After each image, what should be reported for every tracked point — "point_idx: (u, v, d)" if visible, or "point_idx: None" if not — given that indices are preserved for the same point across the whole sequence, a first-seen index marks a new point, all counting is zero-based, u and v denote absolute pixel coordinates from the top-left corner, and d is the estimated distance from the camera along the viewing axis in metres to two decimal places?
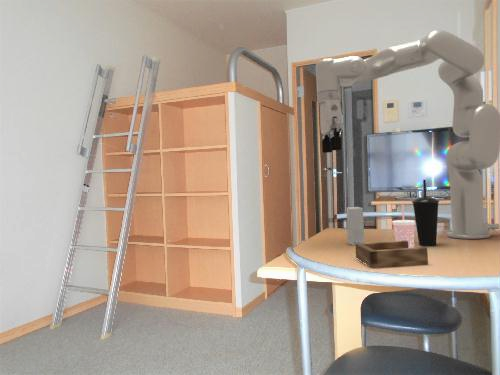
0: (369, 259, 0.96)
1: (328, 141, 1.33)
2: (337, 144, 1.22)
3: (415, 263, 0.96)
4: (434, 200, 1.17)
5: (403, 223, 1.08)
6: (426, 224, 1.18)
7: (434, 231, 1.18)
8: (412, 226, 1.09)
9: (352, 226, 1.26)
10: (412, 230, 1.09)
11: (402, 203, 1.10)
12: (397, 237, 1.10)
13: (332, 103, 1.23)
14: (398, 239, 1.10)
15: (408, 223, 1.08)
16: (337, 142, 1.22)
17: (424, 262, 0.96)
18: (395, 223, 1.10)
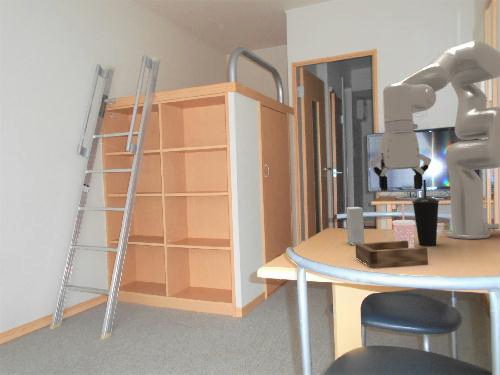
0: (369, 259, 0.96)
1: None
2: None
3: (415, 263, 0.96)
4: (434, 200, 1.17)
5: (403, 223, 1.08)
6: (426, 224, 1.18)
7: (434, 231, 1.18)
8: (412, 226, 1.09)
9: (352, 226, 1.27)
10: (412, 230, 1.09)
11: (402, 203, 1.10)
12: (397, 237, 1.10)
13: None
14: (398, 239, 1.10)
15: (408, 223, 1.08)
16: None
17: (424, 262, 0.96)
18: (395, 223, 1.10)
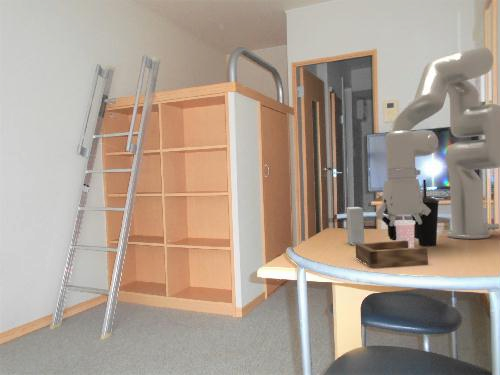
0: (369, 259, 0.96)
1: None
2: None
3: (415, 263, 0.96)
4: (434, 200, 1.17)
5: (403, 223, 1.08)
6: (426, 224, 1.18)
7: (434, 231, 1.18)
8: (412, 226, 1.09)
9: (352, 226, 1.27)
10: (412, 230, 1.09)
11: None
12: (397, 237, 1.10)
13: None
14: (398, 239, 1.10)
15: (408, 223, 1.08)
16: None
17: (424, 262, 0.96)
18: (395, 223, 1.10)
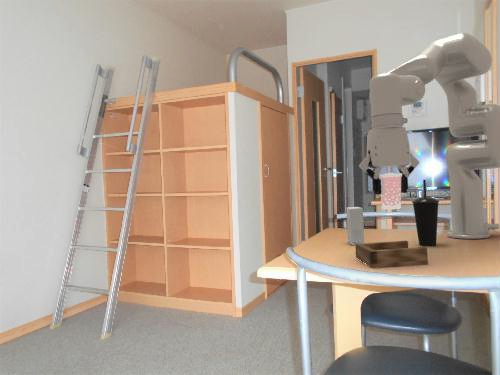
0: (369, 259, 0.96)
1: None
2: None
3: (415, 263, 0.96)
4: (434, 200, 1.17)
5: (389, 175, 0.98)
6: (426, 224, 1.18)
7: (434, 231, 1.18)
8: (399, 178, 0.99)
9: (352, 226, 1.27)
10: (399, 183, 0.99)
11: None
12: (382, 191, 1.00)
13: None
14: (383, 193, 1.00)
15: (394, 175, 0.98)
16: None
17: (424, 262, 0.96)
18: (380, 176, 1.00)
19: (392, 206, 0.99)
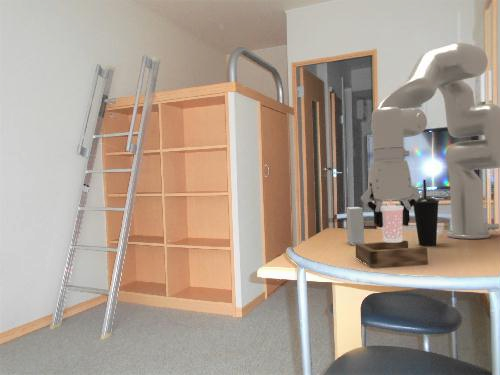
0: (369, 259, 0.96)
1: None
2: None
3: (415, 263, 0.96)
4: (434, 200, 1.17)
5: (390, 208, 0.99)
6: (426, 224, 1.18)
7: (434, 231, 1.18)
8: (400, 212, 0.99)
9: (352, 226, 1.27)
10: (400, 216, 0.99)
11: None
12: (383, 224, 1.01)
13: None
14: (385, 226, 1.00)
15: (396, 208, 0.98)
16: None
17: (424, 262, 0.96)
18: (382, 208, 1.00)
19: (393, 239, 0.99)
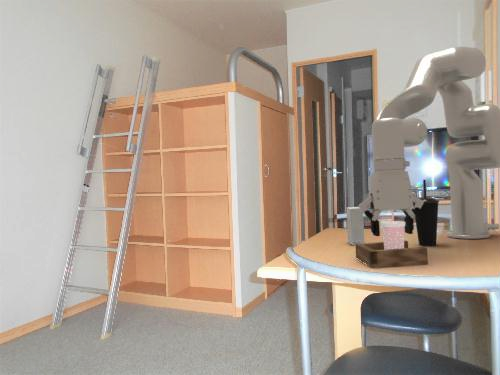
0: (369, 259, 0.96)
1: None
2: None
3: (415, 263, 0.96)
4: (434, 200, 1.17)
5: (392, 225, 0.99)
6: (426, 224, 1.18)
7: (434, 231, 1.18)
8: (402, 228, 0.99)
9: (352, 226, 1.27)
10: (402, 232, 0.99)
11: None
12: (385, 240, 1.01)
13: None
14: (387, 242, 1.00)
15: (397, 225, 0.99)
16: None
17: (424, 262, 0.96)
18: (383, 224, 1.00)
19: None
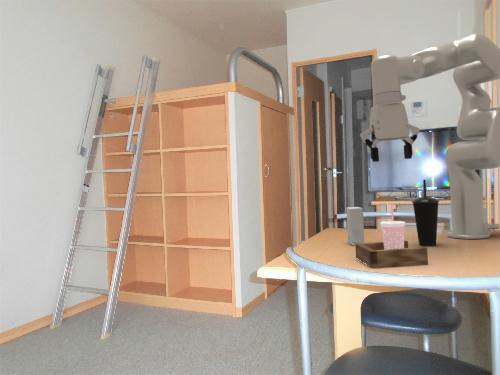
0: (369, 259, 0.96)
1: None
2: None
3: (415, 263, 0.96)
4: (434, 200, 1.17)
5: (392, 225, 0.99)
6: (426, 224, 1.18)
7: (434, 231, 1.18)
8: (402, 228, 0.99)
9: (352, 226, 1.27)
10: (402, 232, 0.99)
11: (391, 203, 1.01)
12: (385, 240, 1.01)
13: None
14: (386, 242, 1.00)
15: (397, 225, 0.99)
16: None
17: (424, 262, 0.96)
18: (383, 224, 1.00)
19: None
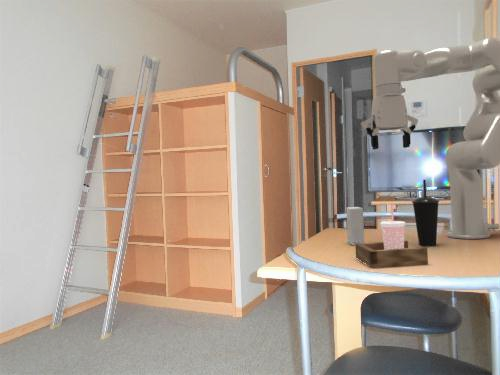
0: (369, 259, 0.96)
1: None
2: None
3: (415, 263, 0.96)
4: (434, 200, 1.17)
5: (392, 225, 0.99)
6: (426, 224, 1.18)
7: (434, 231, 1.18)
8: (402, 228, 0.99)
9: (352, 226, 1.26)
10: (402, 232, 0.99)
11: (391, 203, 1.01)
12: (385, 240, 1.01)
13: None
14: (386, 242, 1.00)
15: (397, 225, 0.99)
16: None
17: (424, 262, 0.96)
18: (383, 224, 1.00)
19: None
